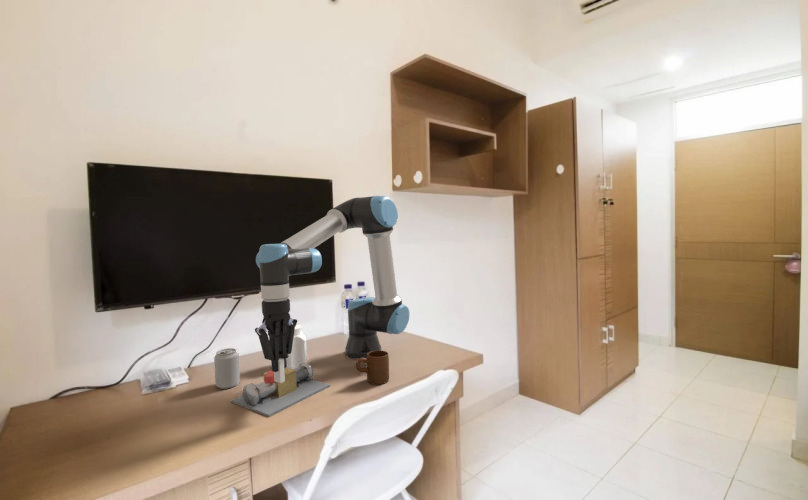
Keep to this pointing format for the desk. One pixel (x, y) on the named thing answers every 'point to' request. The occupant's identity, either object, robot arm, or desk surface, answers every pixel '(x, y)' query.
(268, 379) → the lever
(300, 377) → the valve
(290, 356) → the jar
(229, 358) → the can
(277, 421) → the desk surface
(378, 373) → the mug
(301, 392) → the mat
